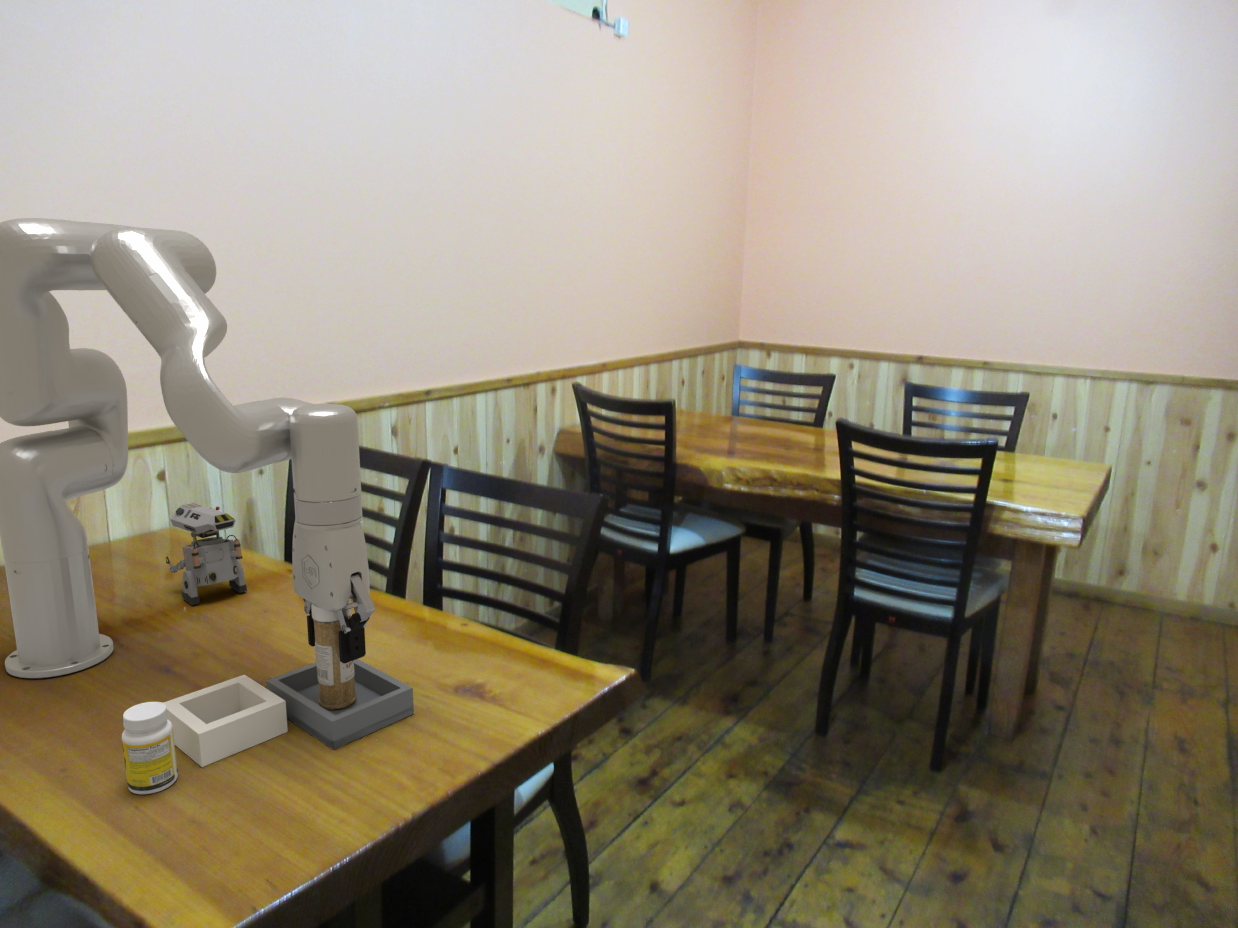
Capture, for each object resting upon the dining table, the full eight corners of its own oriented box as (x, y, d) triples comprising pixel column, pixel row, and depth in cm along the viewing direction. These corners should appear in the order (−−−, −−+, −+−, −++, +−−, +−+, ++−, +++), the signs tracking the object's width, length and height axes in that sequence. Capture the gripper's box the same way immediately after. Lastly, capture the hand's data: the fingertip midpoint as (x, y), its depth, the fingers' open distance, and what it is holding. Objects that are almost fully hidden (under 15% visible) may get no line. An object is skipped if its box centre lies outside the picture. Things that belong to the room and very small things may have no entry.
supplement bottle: (140, 770, 92) (132, 699, 90) (185, 768, 92) (178, 698, 90) (118, 796, 87) (109, 722, 85) (166, 795, 87) (158, 721, 86)
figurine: (223, 578, 149) (216, 496, 146) (251, 595, 142) (244, 509, 139) (168, 591, 143) (159, 505, 140) (194, 609, 135) (185, 519, 132)
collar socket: (163, 734, 99) (159, 703, 98) (246, 703, 106) (244, 674, 105) (202, 767, 92) (198, 734, 92) (287, 731, 100) (285, 700, 99)
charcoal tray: (268, 705, 106) (266, 680, 105) (345, 675, 114) (344, 651, 113) (334, 749, 96) (332, 721, 96) (413, 713, 105) (412, 687, 104)
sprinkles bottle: (361, 704, 104) (355, 602, 101) (323, 714, 102) (316, 609, 99) (350, 689, 108) (344, 590, 105) (314, 699, 106) (306, 597, 103)
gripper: (261, 502, 102) (272, 640, 106) (341, 531, 91) (349, 683, 95) (318, 491, 108) (326, 622, 112) (399, 517, 97) (405, 661, 101)
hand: (336, 649), depth 103 cm, fingers open, 6 cm apart
